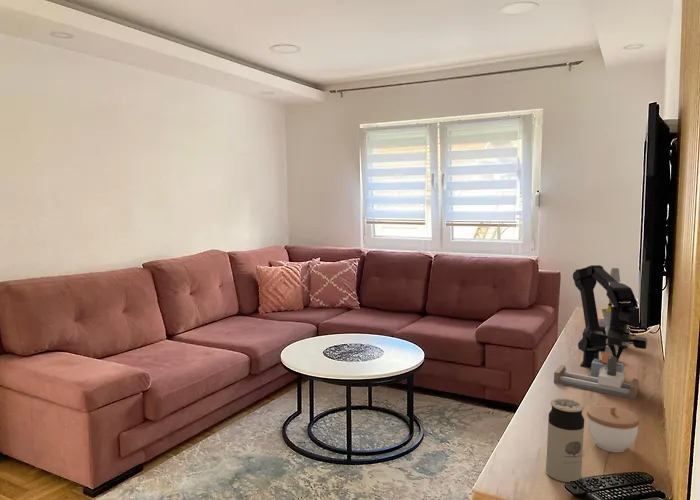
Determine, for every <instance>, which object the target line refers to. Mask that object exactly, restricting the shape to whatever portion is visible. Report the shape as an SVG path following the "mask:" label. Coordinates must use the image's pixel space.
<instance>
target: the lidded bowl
mask: <svg viewBox="0 0 700 500" xmlns="http://www.w3.org/2000/svg"><path fill="white" fill-rule="evenodd" d="M586 415H587V416H586V424H587V431H588V433H589V435H590V438H591V439H592V440H593V442H595V444H596V446H597V447H598V449H599V448H600V449H602V450H604V451H606V452H609V453H610V452H611V453H624V452H625V451H626V450H627V449H628V448H630V447H631V446H632V445H633V444H634V443H635V441H636V438H637V435H638V432H639V423H640V418H639V416H638V415H637V414H635V413H634V412H632V411H631V410H628V409H626V408H623V407H618V406H614V405H608V404H607V405H606V404H596V405H592V406H589V407H588V408H587V410H586Z"/></svg>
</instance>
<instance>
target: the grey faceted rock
mask: <svg viewBox="0 0 700 500" xmlns="http://www.w3.org/2000/svg"><path fill="white" fill-rule="evenodd" d="M603 353H610V354H612V351H611V349H610V347H609V346H608V345H606V348H605V352H600V356H602V354H603ZM612 357H613V354H612Z"/></svg>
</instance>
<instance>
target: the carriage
mask: <svg viewBox="0 0 700 500" xmlns="http://www.w3.org/2000/svg"><path fill="white" fill-rule="evenodd" d="M617 363H618V362H617V358H616V357H612V356H609V357H608V361H607V370H604V369H602V371H601V372H600V374H599V375H598V384H601V385H607V386H612V387H617V388H621V386H622V384H623V383H625V373H624V372H623V373H620V372H616V371H617Z"/></svg>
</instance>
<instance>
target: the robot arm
mask: <svg viewBox="0 0 700 500" xmlns="http://www.w3.org/2000/svg"><path fill="white" fill-rule="evenodd" d="M572 279H573V281H574V286H575V287H576V288H577V289H578V291H579V292H580V296H581V297H580V298H581V304H582V312H583V318H584V324H585V327H584V330H583V332H582V338H581V340H580V341H579V342H578V343H577V348H578V350H580V351H581V352H583V353H582V355H583V356H582V361H581V363H580V366H581V367H584V368H585V367H587V368H591V364H592V361H593V360H594V359H600V353H601V352H605V348H606V345H608V346H609V347H610V349H611V351H612V354H613V357H616V358H617V363H619V362H618V361H620V360H619V359H620V358H621V355H622V353H623V351H624V349H628V348H629V347H630V345H632V346H634V347H635V348H636V349H643V350H646V349H647V348H648V341H649V340H648V338H647V337H642V336H635V337H634V338H630V335H631V334H630V332H628V326H630V327H632V328H637V329H638V328H640V327H641V326H640V323H639V309H640V308H639V305H638V300H637V298H636V297H635V294H634V291H633V289H632V288H631V287H630V286H628V285H626V284H624V283H621V282H617V281H616V280H615V279H614V278H613V277H612V276H610V273H609V272H607V270H606V269H604V267H603V266H602V265H600V264H597V265H596V264H595V265H589V266H586V267H582V268H577V269H576V270H575V271H574V272H573V274H572ZM597 283H598V284H599V285H600V286H601V287H602V288H603V289H604V290H605V291H606V294H605V295H606V297H607V298H608V300H609V299H610V301H611V302H610V303H609V302H608V304H607V307H608V306H611V315H610V328H609V331H608V335H606V331H605V328H602V327H601V325H600V324H599V322H600V321H599V316H598V310H597V304H596V299H595V298H596V297H595V291H594V289H595V287H596V285H597Z"/></svg>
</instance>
